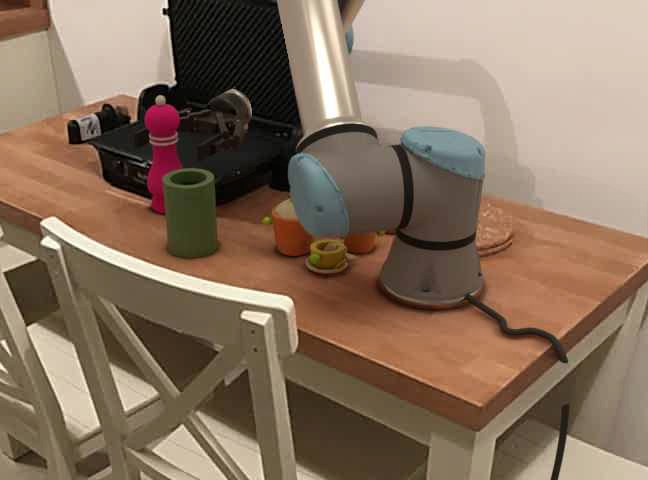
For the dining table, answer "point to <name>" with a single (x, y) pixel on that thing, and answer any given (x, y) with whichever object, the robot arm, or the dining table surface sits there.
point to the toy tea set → (323, 252)
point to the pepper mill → (162, 147)
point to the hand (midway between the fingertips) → (166, 147)
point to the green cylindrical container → (190, 212)
